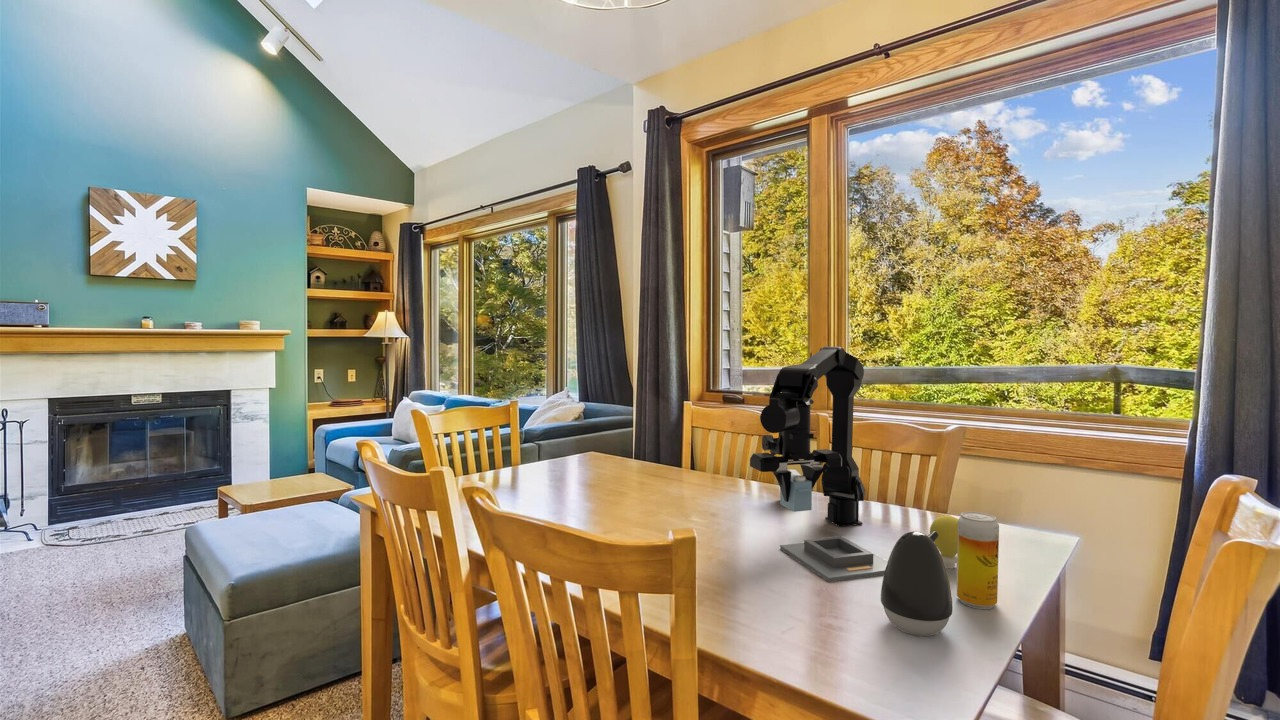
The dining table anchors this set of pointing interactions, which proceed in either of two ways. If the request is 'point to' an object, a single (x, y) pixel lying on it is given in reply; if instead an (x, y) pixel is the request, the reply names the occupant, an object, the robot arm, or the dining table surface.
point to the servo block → (798, 494)
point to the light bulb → (946, 539)
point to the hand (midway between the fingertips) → (795, 500)
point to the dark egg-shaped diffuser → (916, 586)
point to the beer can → (977, 560)
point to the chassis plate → (836, 558)
